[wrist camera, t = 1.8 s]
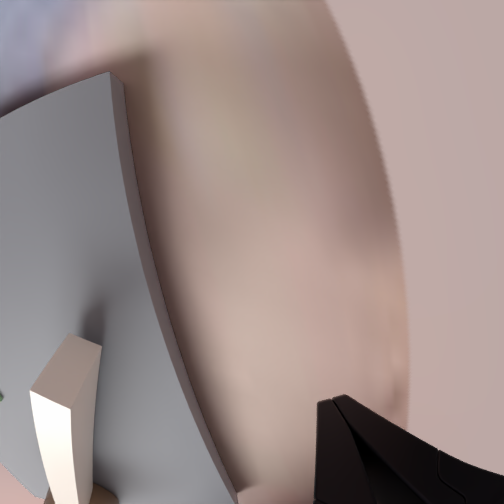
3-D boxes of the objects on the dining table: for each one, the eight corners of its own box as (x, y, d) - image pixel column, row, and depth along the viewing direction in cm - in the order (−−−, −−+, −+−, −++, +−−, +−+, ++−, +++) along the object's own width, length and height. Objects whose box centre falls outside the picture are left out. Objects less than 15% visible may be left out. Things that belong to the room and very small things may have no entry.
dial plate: (236, 494, 14) (239, 515, 13) (39, 483, 13) (33, 499, 12) (123, 83, 8) (106, 68, 6) (-101, 204, 7) (-120, 210, 5)
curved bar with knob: (117, 514, 12) (111, 560, 8) (56, 492, 11) (43, 535, 8) (150, 355, 9) (127, 449, 5) (35, 309, 8) (-27, 375, 4)
